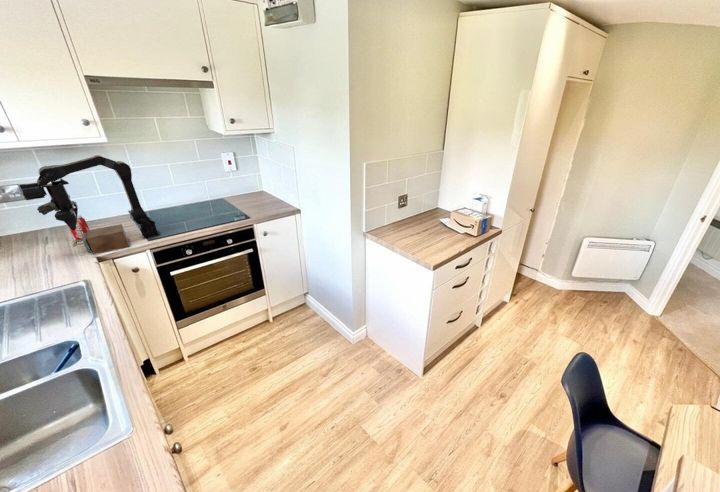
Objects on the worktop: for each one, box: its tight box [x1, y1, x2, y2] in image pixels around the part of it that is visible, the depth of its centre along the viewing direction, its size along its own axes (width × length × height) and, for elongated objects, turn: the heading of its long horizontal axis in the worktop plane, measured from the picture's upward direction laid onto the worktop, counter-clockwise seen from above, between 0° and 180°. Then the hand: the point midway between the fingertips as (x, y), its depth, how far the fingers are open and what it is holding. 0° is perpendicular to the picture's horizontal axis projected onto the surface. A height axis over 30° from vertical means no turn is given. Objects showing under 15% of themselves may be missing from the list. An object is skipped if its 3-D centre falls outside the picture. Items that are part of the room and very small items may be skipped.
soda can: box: [67, 215, 91, 241], centre depth 167 cm, size 7×7×12 cm
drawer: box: [72, 233, 93, 254], centre depth 158 cm, size 17×10×7 cm, turn 130°
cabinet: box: [86, 223, 130, 255], centre depth 161 cm, size 14×12×9 cm
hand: (74, 227), depth 151 cm, fingers open, 9 cm apart
